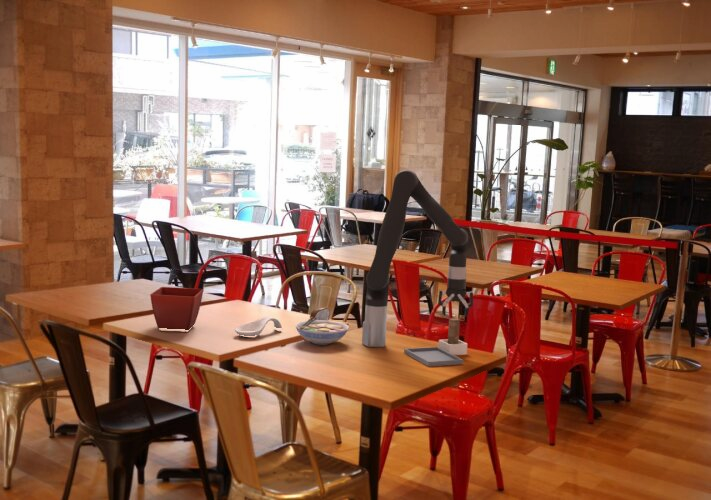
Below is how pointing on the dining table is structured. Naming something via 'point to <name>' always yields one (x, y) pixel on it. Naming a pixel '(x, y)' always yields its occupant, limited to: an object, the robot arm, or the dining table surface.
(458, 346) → the square frame
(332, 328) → the ramen bowl
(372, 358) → the dining table surface
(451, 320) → the peg
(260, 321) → the spoon rest
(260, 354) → the dining table surface
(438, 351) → the tray
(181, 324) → the plant pot
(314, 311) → the soup spoon
